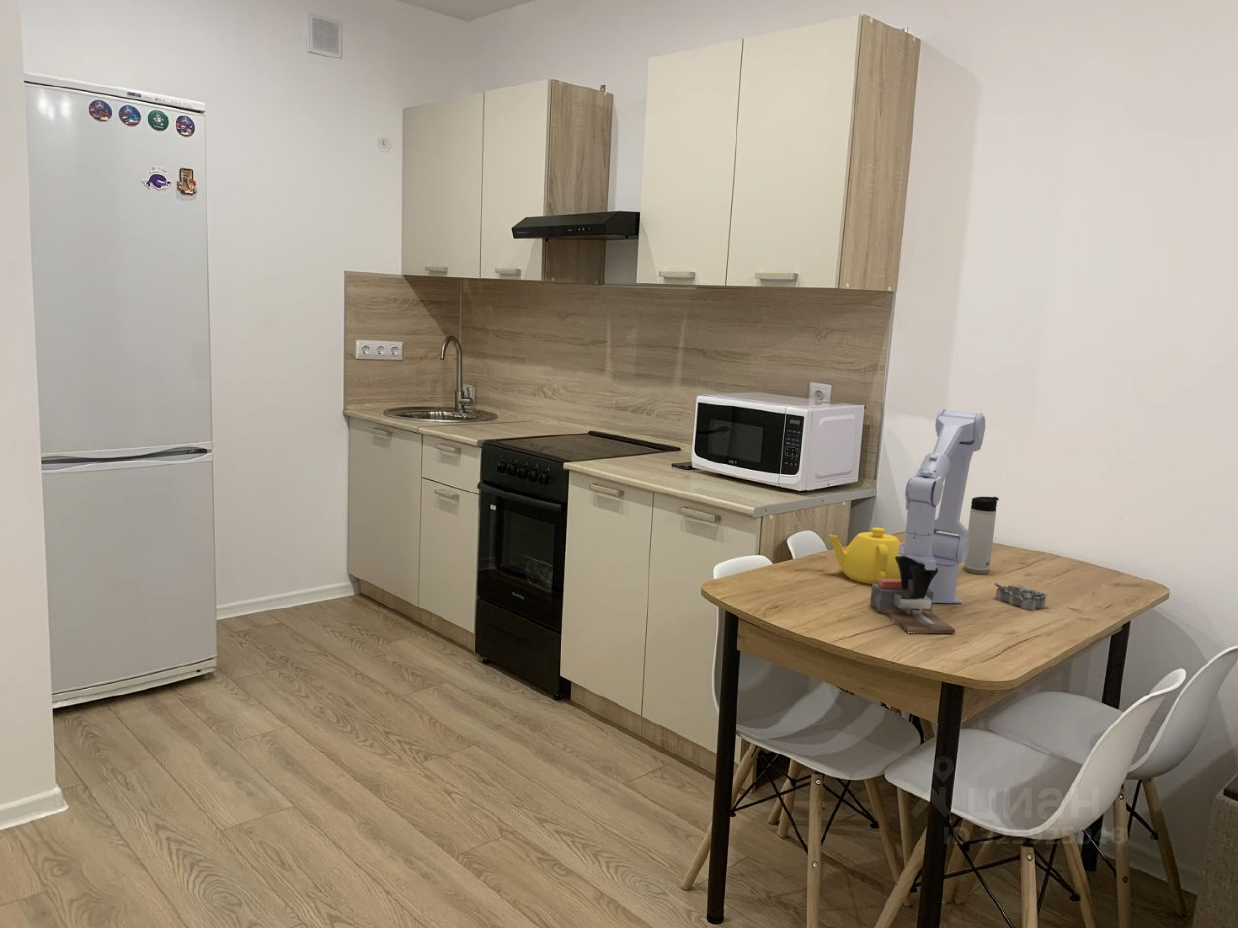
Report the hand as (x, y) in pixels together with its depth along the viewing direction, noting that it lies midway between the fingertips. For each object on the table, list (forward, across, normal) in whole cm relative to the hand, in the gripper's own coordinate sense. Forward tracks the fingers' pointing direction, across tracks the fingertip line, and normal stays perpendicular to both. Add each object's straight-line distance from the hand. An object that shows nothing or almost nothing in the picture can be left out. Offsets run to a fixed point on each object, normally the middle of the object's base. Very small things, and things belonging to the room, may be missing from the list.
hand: (913, 593), depth 205 cm
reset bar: (0, -6, 0) cm, 6 cm away
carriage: (+4, 0, 0) cm, 4 cm away
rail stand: (+5, +1, 0) cm, 6 cm away
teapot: (+6, -31, +2) cm, 31 cm away
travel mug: (+6, -39, +35) cm, 53 cm away
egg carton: (+6, -12, +32) cm, 35 cm away
